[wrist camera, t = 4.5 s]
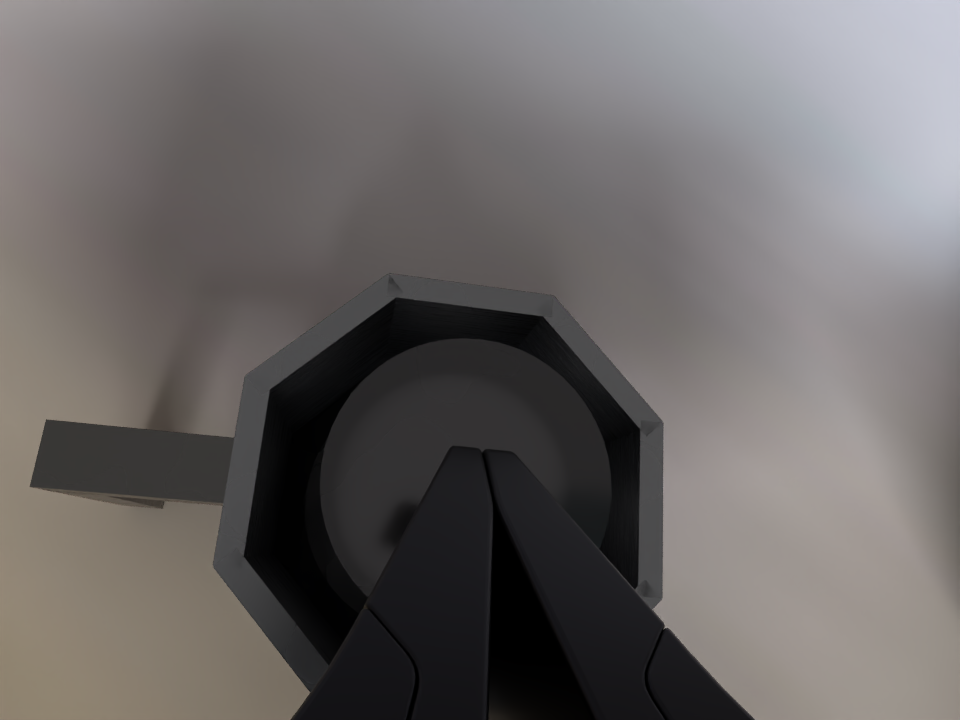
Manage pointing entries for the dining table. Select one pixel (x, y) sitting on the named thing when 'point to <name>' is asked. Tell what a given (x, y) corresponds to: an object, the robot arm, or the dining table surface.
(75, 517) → the dining table surface
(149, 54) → the dining table surface
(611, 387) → the grey octagonal mug
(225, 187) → the dining table surface
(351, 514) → the dark round piece
